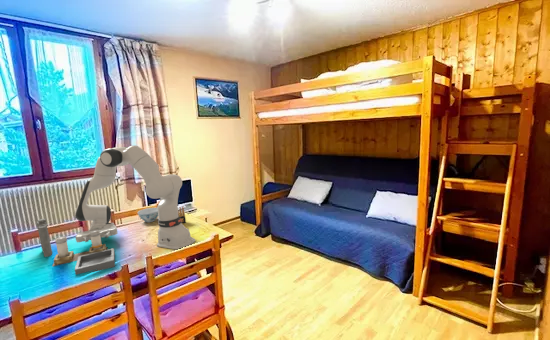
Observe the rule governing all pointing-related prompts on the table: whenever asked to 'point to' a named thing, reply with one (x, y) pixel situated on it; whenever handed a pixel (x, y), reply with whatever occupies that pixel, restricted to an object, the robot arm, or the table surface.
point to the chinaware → (148, 214)
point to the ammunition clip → (182, 215)
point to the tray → (95, 261)
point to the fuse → (62, 247)
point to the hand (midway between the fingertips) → (96, 238)
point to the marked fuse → (96, 240)
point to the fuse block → (75, 256)
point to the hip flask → (44, 237)
